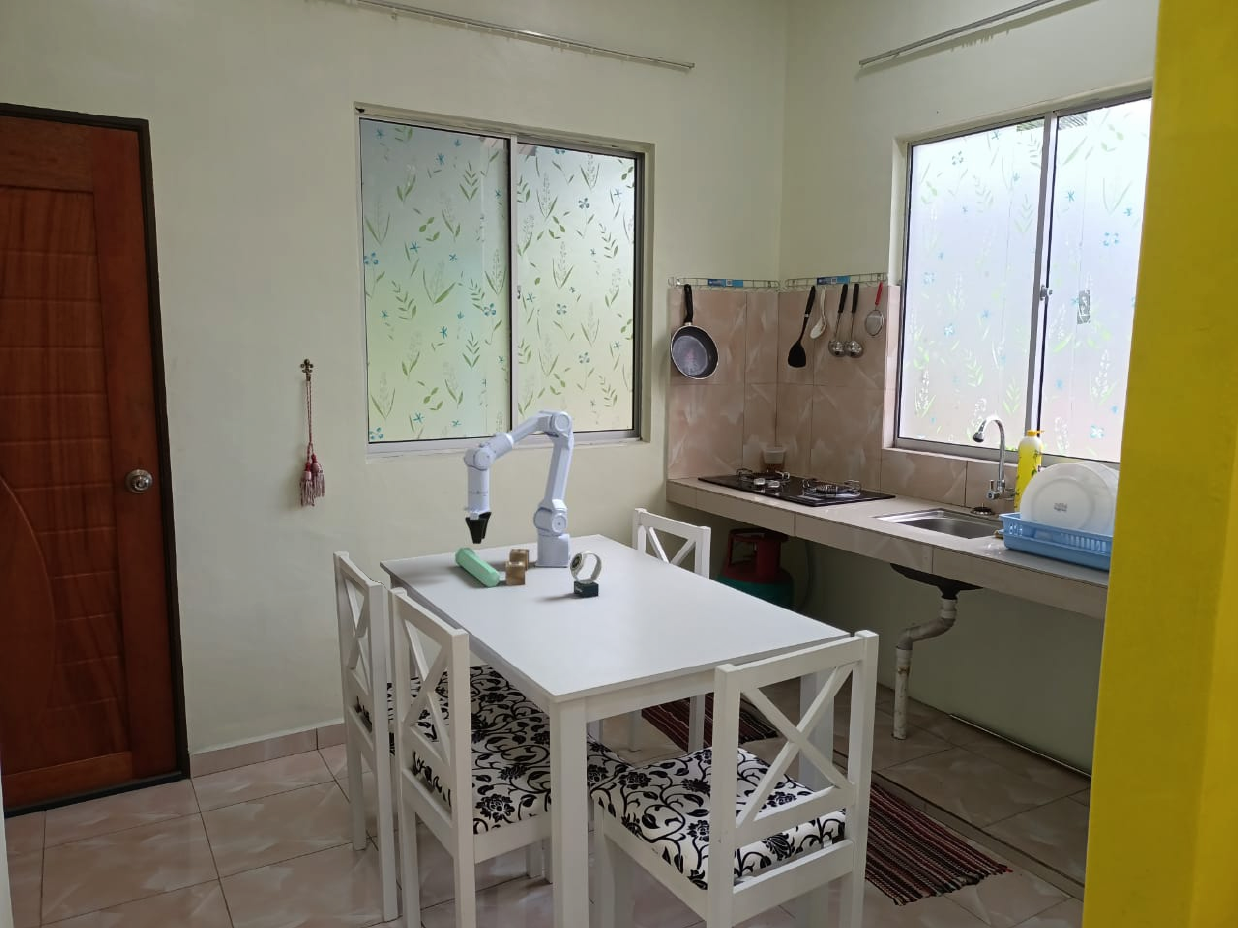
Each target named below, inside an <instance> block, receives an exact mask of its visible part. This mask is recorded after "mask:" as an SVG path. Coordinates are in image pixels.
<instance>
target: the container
mask: <svg viewBox="0 0 1238 928" xmlns="http://www.w3.org/2000/svg"><path fill="white" fill-rule="evenodd" d="M454 555H455V556H454V559H455V560H454V562H455V563H456V565H458V566H459V567H460V566H463V568H464V569H465V570H466V571H468V572H469V573H470V574H471V575H472V576H473V577H475V578H476V579H477V580H478V581H480V583H482V584H483V585H484V586H486V587H488V588H490V587H492V588H493V587H496V586H497V585H498V583H500V581H501V580H500V579H501V578H500V577H501V575H500V572H498V571H497V570H496V569H495V568H494V567H492V566H491V565H490V564H489V563H487V562H486V561H485V560H483V559H482V558H480V556H478V555H477V554H476V553H475V552H474V551H473V550H472V549H471V548H470V547H460V548H459V549H458V551H457V552H456V553H455V554H454Z"/></svg>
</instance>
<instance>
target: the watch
mask: <svg viewBox="0 0 1238 928" xmlns="http://www.w3.org/2000/svg"><path fill="white" fill-rule="evenodd" d="M588 555H593V556H594V557H595V559H596V563H595V566H594V569H593V571H592V573H591V574H590V577H589V578H586V579H579V578H578V577H577V576H578V575H579V573H580V572H581V570H582V569H583V568H584V566H585V564H586V559H587V557H588ZM602 566H603V565H602V559H601V558H600V556H599V555H598V554H597V553H594V552H592V551H590V550H584V551H581V552H578V553H576V554H575V555H574V556H573V557H572V559H571V560H570V562H569V570H570V573H571V576H572V577H573V578H574V580H573V593H574V594H575V595H576V596H578V595H579V596H578V597H580V598H582V599H588V598H597V597H599V594H600V593H599V591H600V590H599V589H600V588H599V587H600V586H599V583H597V582H595V581H596V580H597V579H598V577H599V575H600V573H601V572H602V571H601V570H602ZM596 596H597V597H596Z"/></svg>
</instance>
